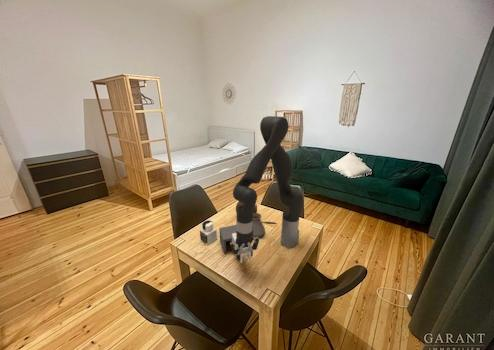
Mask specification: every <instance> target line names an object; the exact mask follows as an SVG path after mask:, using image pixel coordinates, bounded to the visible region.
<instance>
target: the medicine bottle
mask: <svg viewBox="0 0 494 350" xmlns="http://www.w3.org/2000/svg"><path fill="white" fill-rule="evenodd" d="M201 225H202V228H201V229H199V236H200V237H199V239H200V241H202V242H203V243H205V245H210V244H211V243H213V242H214V241H216V240H218V235H217V233H218V232H217V229H216V228H215V227H214V223H213V220H209V219H208V220H205V221H203V222H202V224H201Z"/></svg>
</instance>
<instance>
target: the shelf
mask: <svg viewBox="0 0 494 350" xmlns="http://www.w3.org/2000/svg"><path fill="white" fill-rule="evenodd" d="M218 230H219V231H218V232H219V242H220V246H221V248H222V252H223V254H224V255H227V246H226V245H227V243H226V242H229V243H230V242H231V241H232V234H233V233H236V224H234V225H228V226H222V227H219V228H218Z"/></svg>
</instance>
